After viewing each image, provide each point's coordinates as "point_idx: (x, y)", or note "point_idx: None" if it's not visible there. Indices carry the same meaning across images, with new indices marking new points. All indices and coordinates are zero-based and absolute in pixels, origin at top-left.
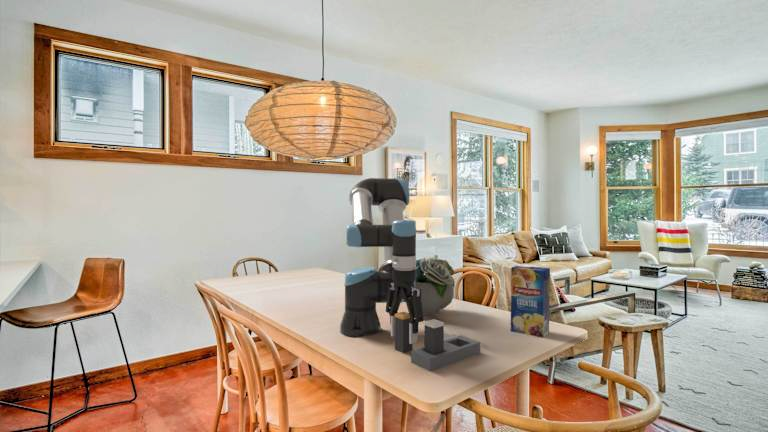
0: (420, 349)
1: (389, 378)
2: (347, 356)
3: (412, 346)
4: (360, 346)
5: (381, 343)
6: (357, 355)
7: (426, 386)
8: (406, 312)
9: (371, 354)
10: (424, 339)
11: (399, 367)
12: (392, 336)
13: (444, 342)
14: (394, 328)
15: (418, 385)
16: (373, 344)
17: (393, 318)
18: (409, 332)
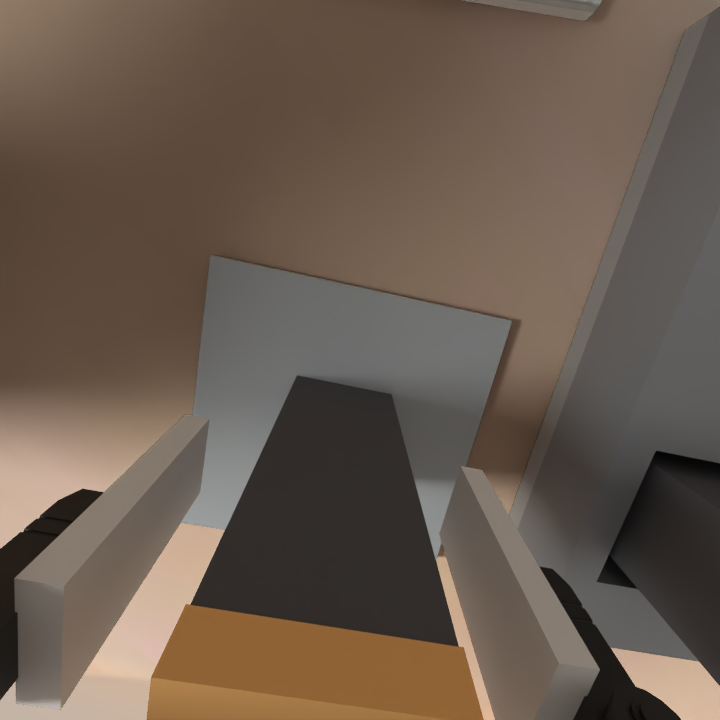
0: (589, 578)
1: (486, 708)
2: (115, 660)
3: (394, 409)
4: (22, 513)
5: (72, 376)
6: (143, 621)
7: (680, 673)
8: (254, 706)
9: (192, 564)
10: (696, 657)
11: (453, 600)
12: (200, 489)
13: (718, 310)
14: (169, 517)
15: (642, 685)
16: (49, 430)
17: (85, 654)
18: (469, 624)
